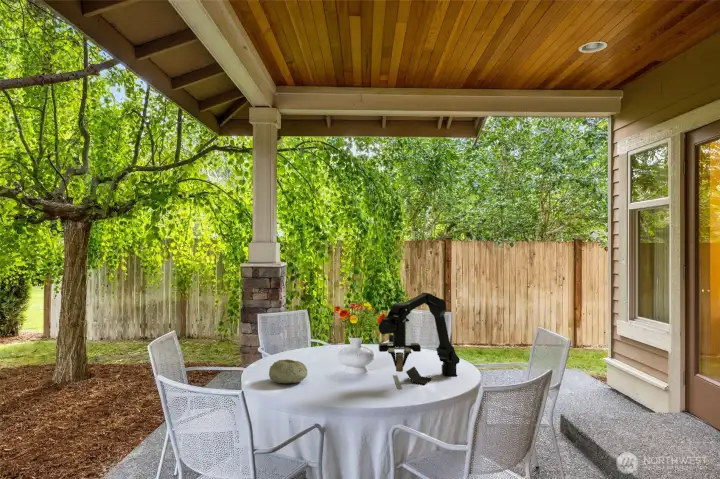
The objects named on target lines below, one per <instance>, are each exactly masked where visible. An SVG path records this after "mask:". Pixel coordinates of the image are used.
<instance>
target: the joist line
mask: <svg viewBox="0 0 720 479" xmlns="http://www.w3.org/2000/svg"><path fill="white" fill-rule="evenodd" d="M392 376H393V379H394V382H395V385H396V388H397V390H402V389H403V387H402V385H401V382H400V379H399V377H398V375H397V374H393V375H392Z"/></svg>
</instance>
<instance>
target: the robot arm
mask: <svg viewBox="0 0 720 479" xmlns="http://www.w3.org/2000/svg"><path fill="white" fill-rule="evenodd" d="M424 304H425V305H426V306H427V308H428V309H429V312H430V313H431V315H432V316H433V317H434V322H435V327H436V332H437V338H438V343H439V344H438V347H436V354H437V355H436V356H438V358H439V361H440V362H442V364H441V374H442V375H443V376H444V377H458V374H457V365H458V364H460V360H461V359H460V358H459V356H458V355H457V352H456V351H455V347H454V346H453V345H452V343H451V341H450V338H449V333H448V332H449V331H448V328H447V324H446V318H445V314H446V311H447V305H446V304H447V303H446V300H444V299H443V298H440V297H437V296H436V295H433V294H432V293H430V292H422V293H420V294H419V295H416V296H414V297H413V298H410V299H409V300H407V301H404V302H397V303H394V304H392V305H391V308H390V310H389V312H388V314H387V315H386V318H381V321H380V322H379V324H378V331H379V333H380V334H382V335H388V343H391V344H389V345H388V343H387V342H381V343H378V352H387V354H390V356H391V357H392V360H393V364H394V367H395V368H396V352H395V350H403V368H404V367H405V364H406V362H407V360H408V357H409V355H410V354H412V351H413V352H414V353H415V352H417V353H419V352H421V350H422V349H421V348H422V347H421V345H420V343H419V342H416V343H415V342H410V344H407V342H406V341H407V340H406V339H407V338H406V337H407V336H406V335H407V334H406V333H407V331H406V330H407V328H406V327H407V324H406V323H407V322H410V319H409V318H408V315H410V314H411V312H412V311H413V310H414V309H416V308H418V307H420V306H423V305H424Z"/></svg>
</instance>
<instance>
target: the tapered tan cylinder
mask: <svg viewBox="0 0 720 479" xmlns="http://www.w3.org/2000/svg"><path fill="white" fill-rule="evenodd" d="M403 355H404V352H400V351H398V352H397V351H396V352H395V357H396V367H395V371H396V372H397V373H402V372H404V367H403Z"/></svg>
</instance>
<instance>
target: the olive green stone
mask: <svg viewBox="0 0 720 479" xmlns="http://www.w3.org/2000/svg"><path fill="white" fill-rule="evenodd" d="M308 372H309V371H308V368H307V366H306V365H305V364H304V363H303V362H301V361H299V360H294V359H287V358H286V359H279V360H276V361H275V362H273V364H272V365H271V366H270V367H269V371H268V377H269V379H270V381H272V382H274V383H278V384H296V383H299V382H300V383H301V382H302V381H303V380H304V379H306V378H307V376H308Z"/></svg>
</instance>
